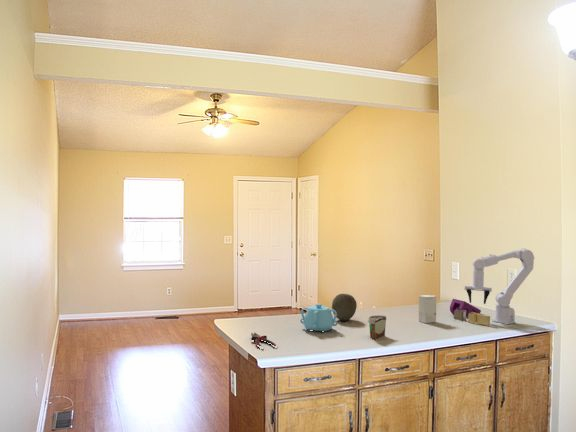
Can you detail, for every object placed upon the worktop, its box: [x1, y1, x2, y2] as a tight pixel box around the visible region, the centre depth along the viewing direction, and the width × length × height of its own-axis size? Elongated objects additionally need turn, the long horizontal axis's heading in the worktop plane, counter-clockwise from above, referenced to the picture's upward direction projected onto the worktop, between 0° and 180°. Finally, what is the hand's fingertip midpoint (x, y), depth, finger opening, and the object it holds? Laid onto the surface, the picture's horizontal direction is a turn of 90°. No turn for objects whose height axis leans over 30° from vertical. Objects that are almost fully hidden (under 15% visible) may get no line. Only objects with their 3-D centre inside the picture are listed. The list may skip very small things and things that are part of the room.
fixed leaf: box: [453, 310, 467, 322], centre depth 280 cm, size 7×2×6 cm, turn 35°
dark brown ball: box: [331, 293, 357, 322], centre depth 277 cm, size 14×14×15 cm
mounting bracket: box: [449, 298, 482, 318], centre depth 295 cm, size 9×8×18 cm
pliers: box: [250, 332, 277, 346], centre depth 229 cm, size 3×9×22 cm
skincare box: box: [418, 294, 437, 324], centre depth 275 cm, size 8×6×15 cm
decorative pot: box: [299, 303, 338, 332], centre depth 255 cm, size 16×16×14 cm
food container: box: [367, 315, 387, 341], centre depth 241 cm, size 12×6×10 cm, turn 141°
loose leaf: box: [467, 312, 491, 327], centre depth 270 cm, size 11×5×5 cm, turn 35°
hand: (477, 303), depth 280 cm, fingers open, 7 cm apart
